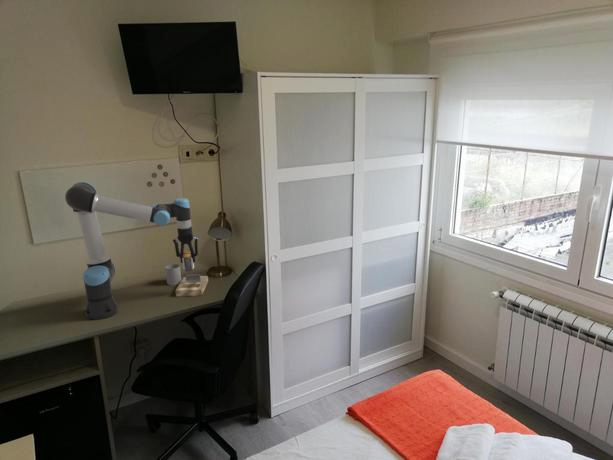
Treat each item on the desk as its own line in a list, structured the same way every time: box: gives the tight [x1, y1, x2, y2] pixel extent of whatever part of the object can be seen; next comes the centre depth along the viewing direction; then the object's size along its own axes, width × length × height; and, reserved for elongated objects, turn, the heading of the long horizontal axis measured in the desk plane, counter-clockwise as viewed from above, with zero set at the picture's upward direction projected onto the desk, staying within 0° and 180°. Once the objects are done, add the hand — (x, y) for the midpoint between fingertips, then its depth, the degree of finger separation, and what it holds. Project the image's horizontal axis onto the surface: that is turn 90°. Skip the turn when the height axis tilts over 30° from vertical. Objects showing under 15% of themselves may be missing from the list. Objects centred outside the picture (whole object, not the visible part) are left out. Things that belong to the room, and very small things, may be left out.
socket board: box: [175, 275, 209, 297], centre depth 258 cm, size 14×20×4 cm
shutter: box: [181, 273, 205, 283], centre depth 260 cm, size 12×7×3 cm, turn 92°
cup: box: [164, 263, 182, 286], centre depth 267 cm, size 8×8×10 cm
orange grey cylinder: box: [183, 251, 194, 273], centre depth 250 cm, size 5×5×10 cm
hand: (188, 268), depth 251 cm, fingers closed on orange grey cylinder, 4 cm apart
